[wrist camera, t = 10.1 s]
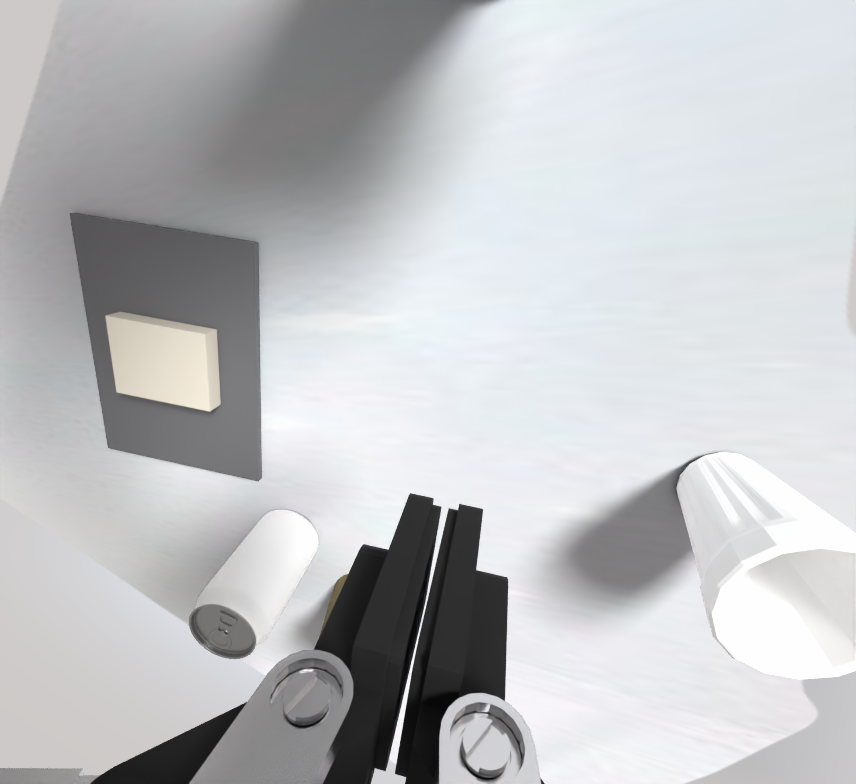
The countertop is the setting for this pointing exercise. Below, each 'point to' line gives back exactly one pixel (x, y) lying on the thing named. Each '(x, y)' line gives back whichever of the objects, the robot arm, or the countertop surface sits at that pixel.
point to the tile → (164, 360)
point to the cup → (770, 569)
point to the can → (254, 585)
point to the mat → (185, 303)
